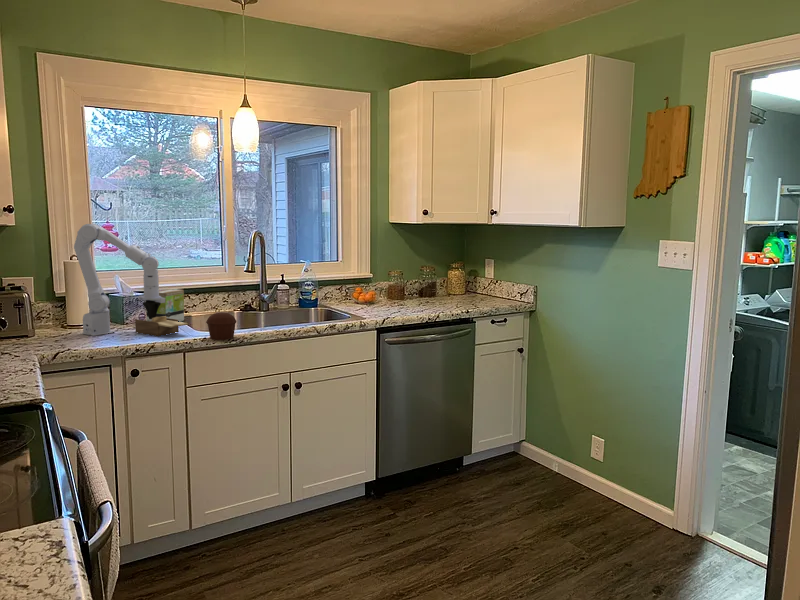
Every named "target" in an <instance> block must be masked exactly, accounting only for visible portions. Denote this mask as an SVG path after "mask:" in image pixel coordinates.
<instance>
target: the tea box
mask: <svg viewBox="0 0 800 600" xmlns="http://www.w3.org/2000/svg"><path fill="white" fill-rule="evenodd" d="M184 290H185V289H179V288H178V289H176V288H175V289H174V288H173V289H172V288H164V289H163V288H162V289H159V296H161V297H162V298H165V303H161V304H160V306H159V308H158V310H157V314H156V317H162V316H166V318H170V319H176V320H178V321H179V322H184V320H185V291H184ZM155 301H156V300H155ZM145 311H146V320H145V321H152V319H149V317H148V313H147V310H146V309H145Z"/></svg>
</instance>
